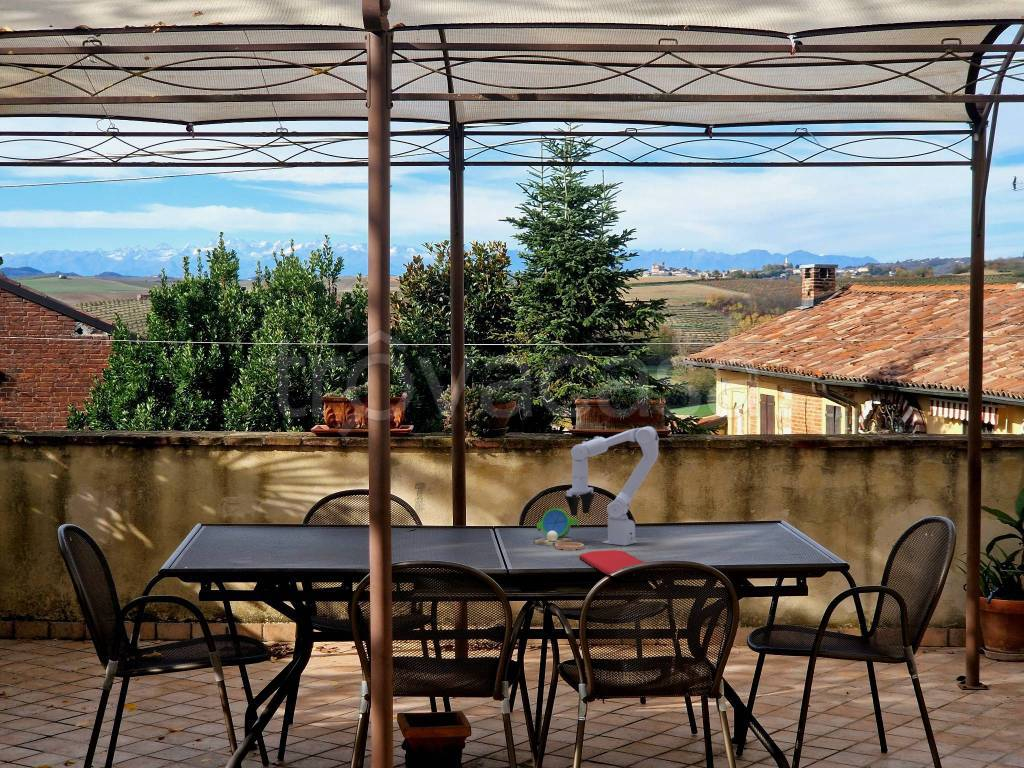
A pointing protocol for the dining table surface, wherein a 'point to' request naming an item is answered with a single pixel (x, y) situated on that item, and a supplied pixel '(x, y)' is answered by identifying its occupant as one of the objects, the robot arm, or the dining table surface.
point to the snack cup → (556, 522)
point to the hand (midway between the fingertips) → (580, 514)
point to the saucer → (569, 545)
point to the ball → (552, 536)
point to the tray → (547, 542)
